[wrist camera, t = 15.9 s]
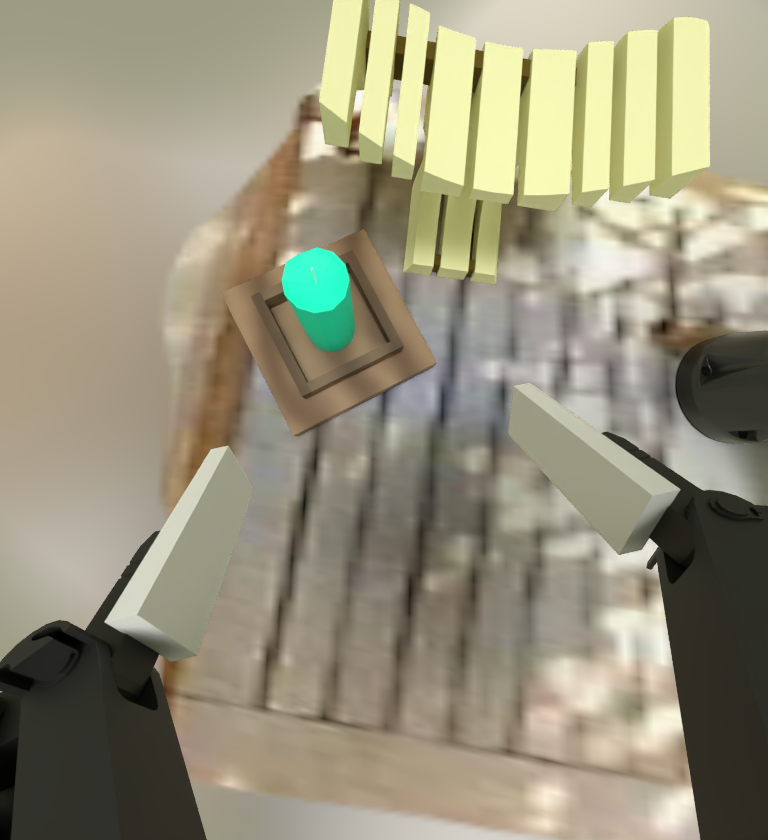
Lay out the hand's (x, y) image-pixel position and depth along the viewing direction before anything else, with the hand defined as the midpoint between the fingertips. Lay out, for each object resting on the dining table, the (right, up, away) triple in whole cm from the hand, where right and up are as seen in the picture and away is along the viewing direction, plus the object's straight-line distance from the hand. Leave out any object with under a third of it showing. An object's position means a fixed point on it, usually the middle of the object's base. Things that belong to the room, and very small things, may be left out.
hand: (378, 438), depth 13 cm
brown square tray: (-7, +12, +24) cm, 27 cm away
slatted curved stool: (+10, +28, +26) cm, 40 cm away
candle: (-6, +12, +22) cm, 26 cm away
